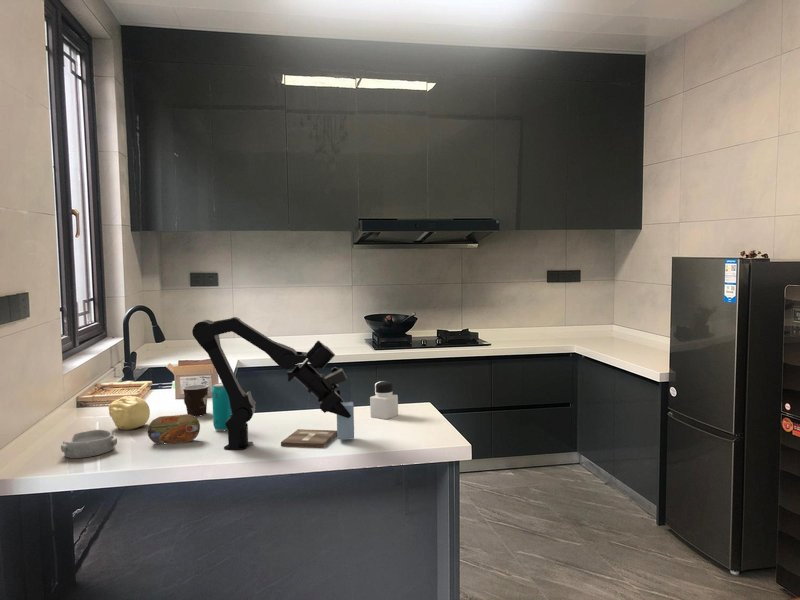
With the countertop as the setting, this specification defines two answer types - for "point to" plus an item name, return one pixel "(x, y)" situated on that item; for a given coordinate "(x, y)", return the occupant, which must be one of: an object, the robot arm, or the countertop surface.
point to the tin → (174, 429)
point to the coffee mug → (196, 399)
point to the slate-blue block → (346, 423)
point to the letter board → (309, 438)
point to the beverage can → (220, 407)
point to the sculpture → (129, 412)
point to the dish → (89, 444)
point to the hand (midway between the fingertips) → (349, 414)
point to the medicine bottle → (384, 401)
